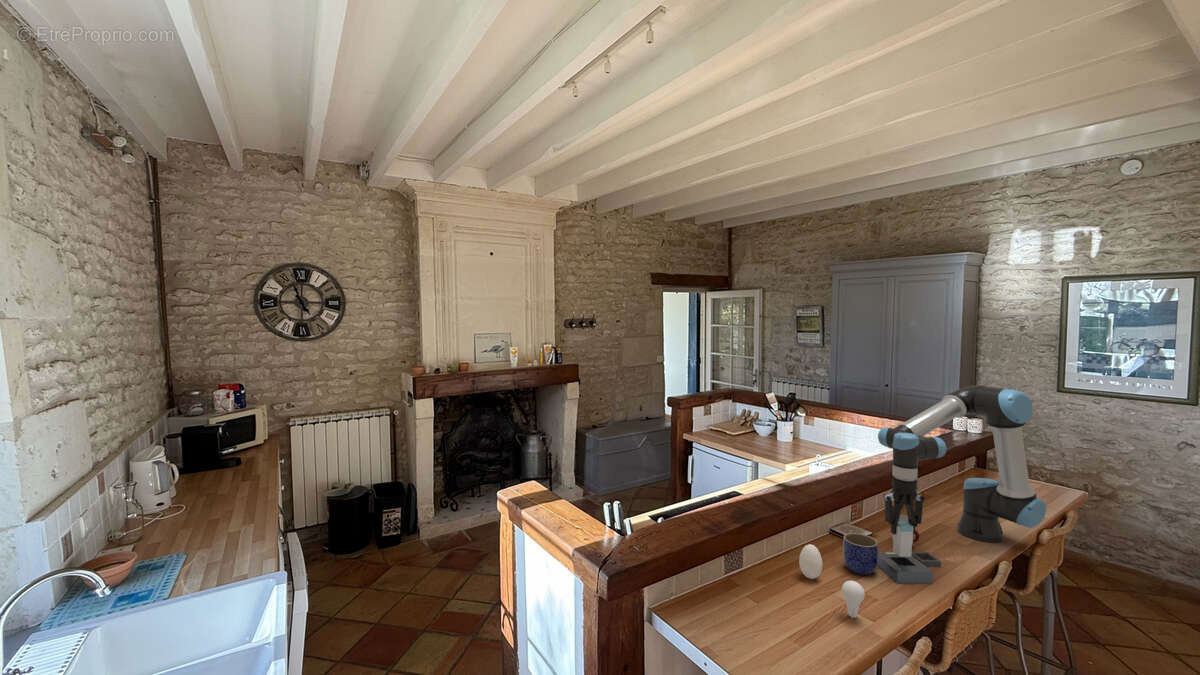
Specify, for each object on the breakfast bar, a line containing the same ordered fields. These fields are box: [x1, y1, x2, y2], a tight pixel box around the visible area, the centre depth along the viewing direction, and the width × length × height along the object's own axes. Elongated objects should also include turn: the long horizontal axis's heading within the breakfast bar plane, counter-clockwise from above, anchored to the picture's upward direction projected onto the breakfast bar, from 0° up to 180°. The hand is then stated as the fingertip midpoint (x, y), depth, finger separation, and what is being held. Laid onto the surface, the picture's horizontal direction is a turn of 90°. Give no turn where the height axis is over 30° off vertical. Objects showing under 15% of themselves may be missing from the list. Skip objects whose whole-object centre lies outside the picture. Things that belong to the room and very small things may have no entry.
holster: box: [911, 551, 942, 568], centre depth 179 cm, size 7×7×2 cm
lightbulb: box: [841, 580, 866, 619], centre depth 147 cm, size 6×6×11 cm
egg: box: [798, 543, 823, 580], centre depth 169 cm, size 7×7×12 cm
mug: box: [899, 513, 920, 543], centre depth 193 cm, size 11×8×10 cm
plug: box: [892, 521, 913, 557], centre depth 172 cm, size 4×4×11 cm
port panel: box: [876, 551, 934, 585], centre depth 172 cm, size 12×14×4 cm
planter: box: [842, 532, 879, 576], centre depth 174 cm, size 11×11×11 cm
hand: (902, 542), depth 172 cm, fingers closed on plug, 4 cm apart
